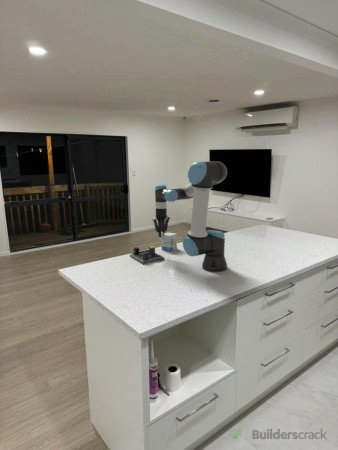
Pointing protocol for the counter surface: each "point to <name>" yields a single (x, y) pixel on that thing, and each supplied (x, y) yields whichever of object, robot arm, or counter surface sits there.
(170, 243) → the ink box
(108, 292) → the counter surface
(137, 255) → the panel
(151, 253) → the handle
